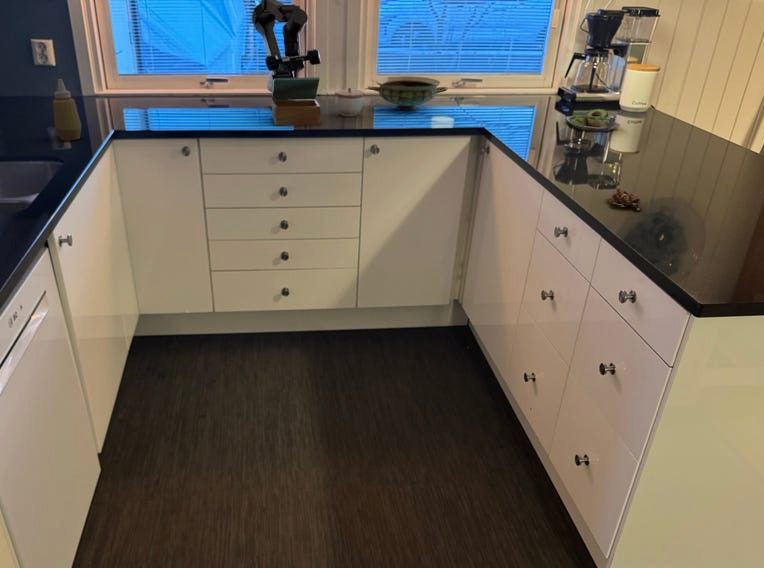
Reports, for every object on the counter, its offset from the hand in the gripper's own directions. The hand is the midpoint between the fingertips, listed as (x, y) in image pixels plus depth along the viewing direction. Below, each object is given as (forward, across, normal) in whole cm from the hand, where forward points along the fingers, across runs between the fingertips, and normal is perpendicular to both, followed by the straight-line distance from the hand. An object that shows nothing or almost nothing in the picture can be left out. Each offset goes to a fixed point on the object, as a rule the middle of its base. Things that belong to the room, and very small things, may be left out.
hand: (294, 83), depth 239 cm
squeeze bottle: (+21, +70, +26) cm, 78 cm away
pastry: (+68, -87, +52) cm, 122 cm away
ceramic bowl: (+1, -38, -31) cm, 49 cm away
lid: (+2, 0, -1) cm, 2 cm away
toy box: (+11, +1, -6) cm, 13 cm away
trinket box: (+6, -17, -19) cm, 26 cm away
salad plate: (+21, -102, -18) cm, 106 cm away
